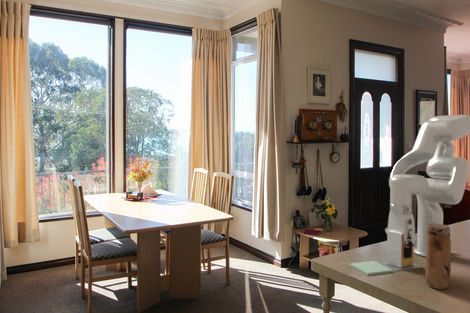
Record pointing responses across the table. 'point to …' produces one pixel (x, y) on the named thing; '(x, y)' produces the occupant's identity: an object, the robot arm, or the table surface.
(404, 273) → the table surface
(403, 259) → the small box
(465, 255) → the table surface
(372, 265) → the sage board
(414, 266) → the slate tile
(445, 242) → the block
